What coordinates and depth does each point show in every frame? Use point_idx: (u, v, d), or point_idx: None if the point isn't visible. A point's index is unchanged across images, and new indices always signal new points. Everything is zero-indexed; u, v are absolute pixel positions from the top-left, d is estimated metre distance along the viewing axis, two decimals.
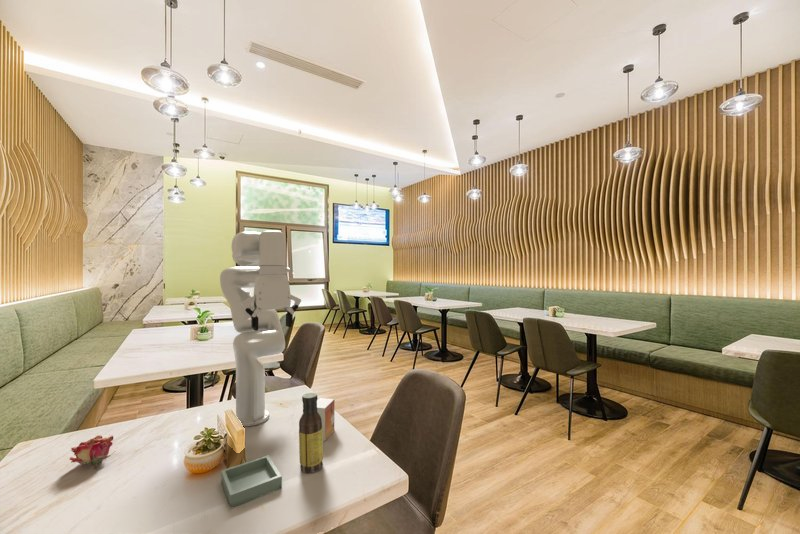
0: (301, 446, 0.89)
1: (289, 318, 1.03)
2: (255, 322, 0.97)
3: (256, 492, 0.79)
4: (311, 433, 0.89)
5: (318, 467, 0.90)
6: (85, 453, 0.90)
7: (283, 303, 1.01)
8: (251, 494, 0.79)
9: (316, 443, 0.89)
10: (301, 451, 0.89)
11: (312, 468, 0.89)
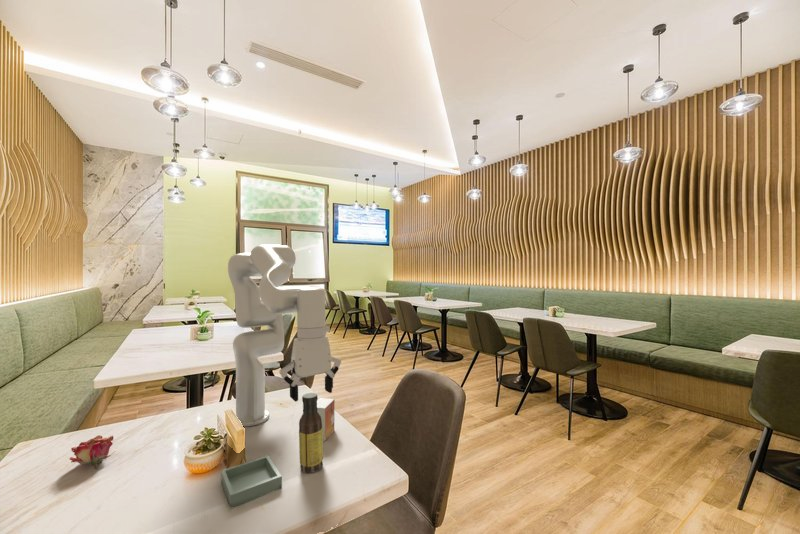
0: (301, 446, 0.89)
1: (329, 383, 0.93)
2: (294, 392, 0.87)
3: (256, 492, 0.79)
4: (311, 433, 0.89)
5: (318, 467, 0.90)
6: (85, 453, 0.90)
7: (323, 368, 0.91)
8: (251, 494, 0.79)
9: (316, 443, 0.89)
10: (301, 451, 0.89)
11: (312, 468, 0.89)
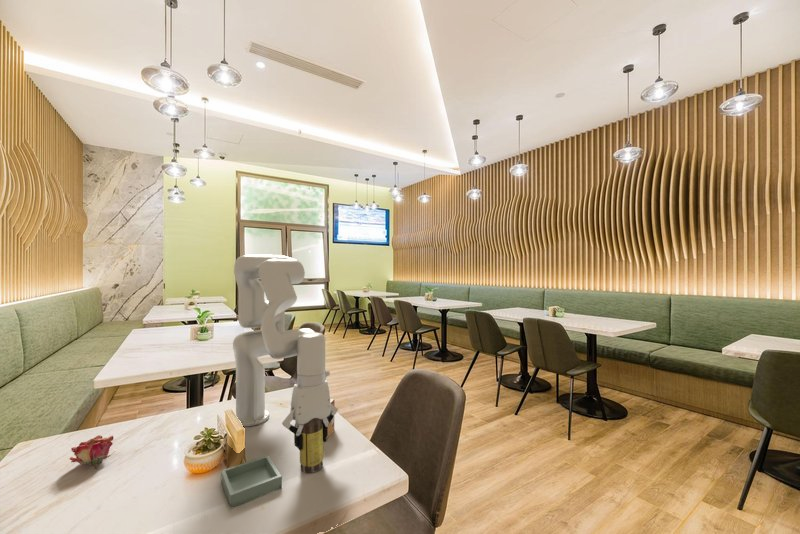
0: None
1: (324, 432, 0.93)
2: (299, 441, 0.88)
3: (256, 492, 0.79)
4: (311, 433, 0.89)
5: (318, 467, 0.90)
6: (85, 453, 0.90)
7: (323, 413, 0.92)
8: (251, 494, 0.79)
9: (316, 443, 0.89)
10: (301, 451, 0.89)
11: (312, 468, 0.89)
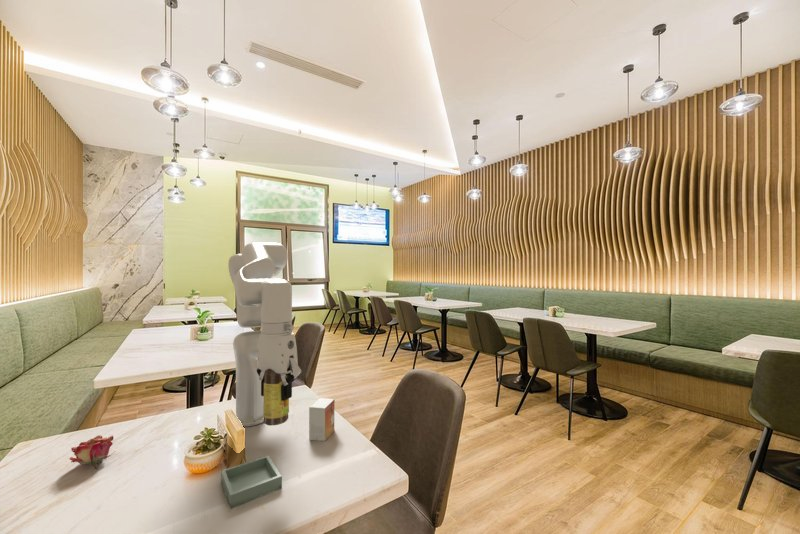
0: None
1: None
2: None
3: (256, 492, 0.79)
4: (265, 383, 0.85)
5: (270, 422, 0.84)
6: (85, 453, 0.90)
7: (277, 368, 0.84)
8: (251, 494, 0.79)
9: (267, 395, 0.84)
10: None
11: (265, 419, 0.85)
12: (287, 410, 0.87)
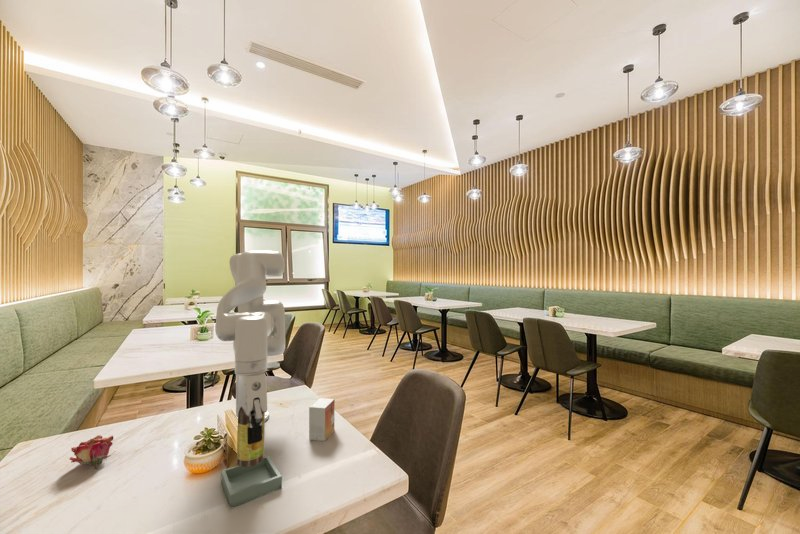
0: None
1: None
2: None
3: (256, 492, 0.79)
4: None
5: (238, 463, 0.82)
6: (85, 453, 0.90)
7: (244, 409, 0.81)
8: (251, 494, 0.79)
9: (238, 434, 0.82)
10: None
11: None
12: (257, 454, 0.82)
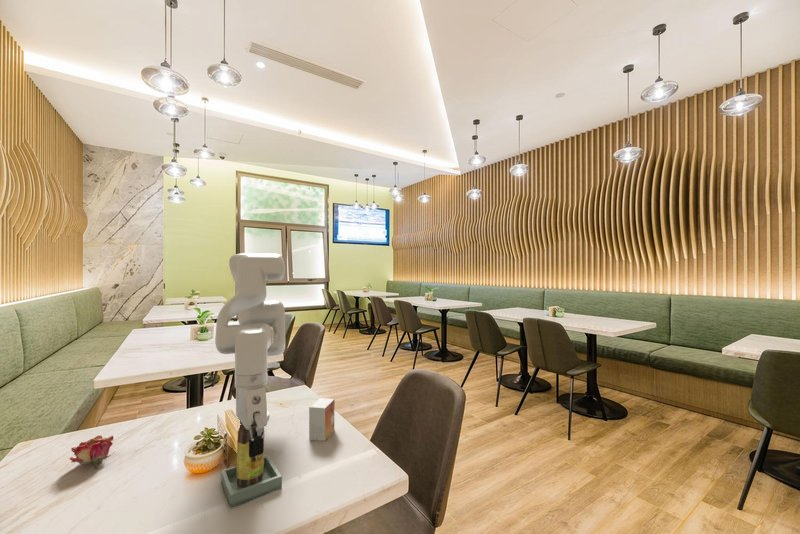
0: None
1: None
2: None
3: (256, 492, 0.79)
4: (237, 440, 0.84)
5: (238, 482, 0.82)
6: (85, 453, 0.90)
7: (244, 422, 0.81)
8: (251, 494, 0.79)
9: (237, 453, 0.83)
10: None
11: (237, 477, 0.84)
12: (256, 473, 0.83)
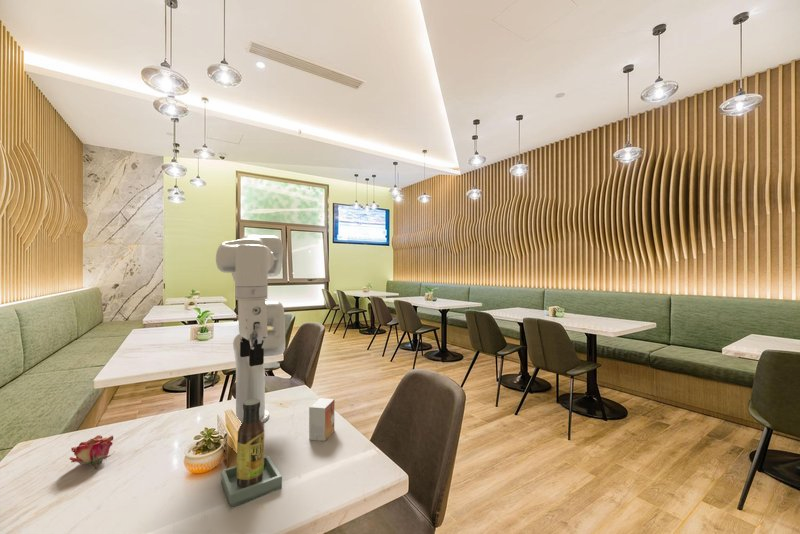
0: None
1: None
2: None
3: (256, 492, 0.79)
4: (237, 440, 0.84)
5: (238, 482, 0.82)
6: (85, 453, 0.90)
7: (244, 333, 0.81)
8: (251, 494, 0.79)
9: (237, 453, 0.83)
10: None
11: (237, 477, 0.84)
12: (256, 473, 0.83)
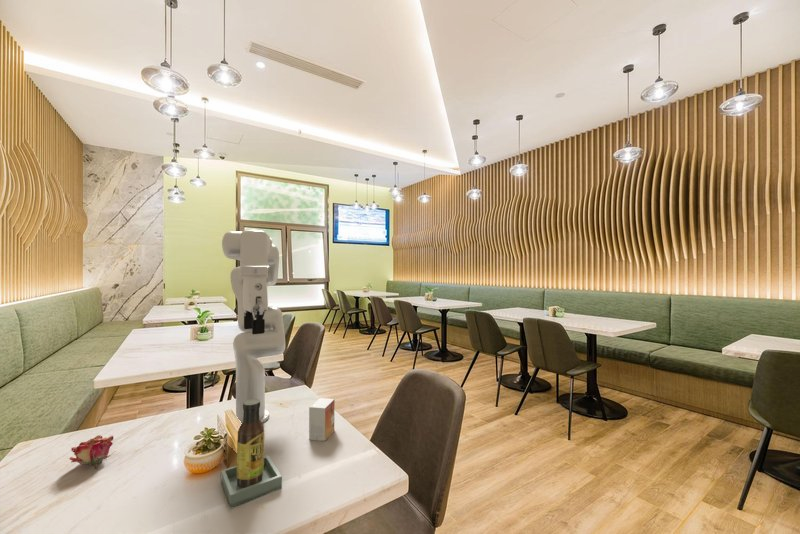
0: None
1: None
2: None
3: (256, 492, 0.79)
4: (237, 440, 0.84)
5: (238, 482, 0.82)
6: (85, 453, 0.90)
7: (248, 306, 0.94)
8: (251, 494, 0.79)
9: (237, 453, 0.83)
10: None
11: (237, 477, 0.84)
12: (256, 473, 0.83)
